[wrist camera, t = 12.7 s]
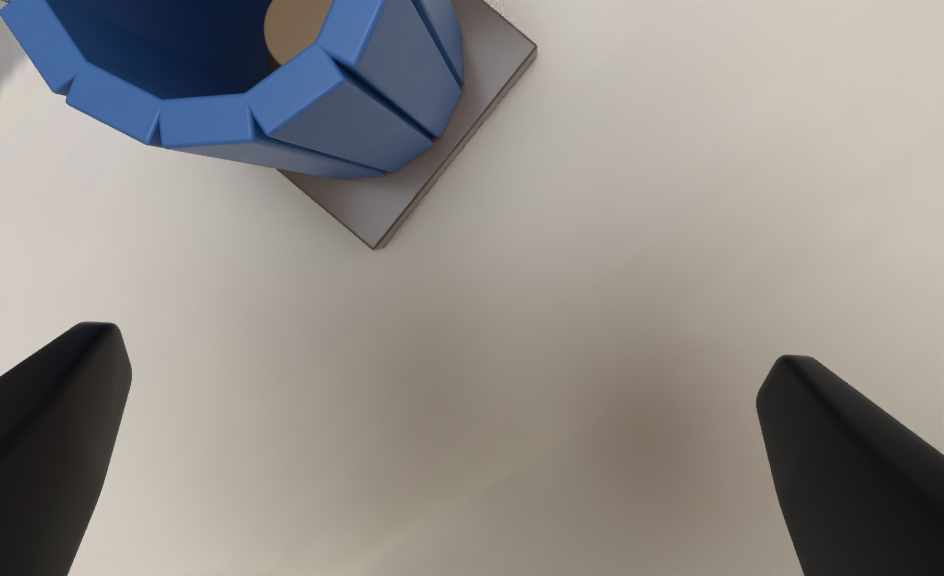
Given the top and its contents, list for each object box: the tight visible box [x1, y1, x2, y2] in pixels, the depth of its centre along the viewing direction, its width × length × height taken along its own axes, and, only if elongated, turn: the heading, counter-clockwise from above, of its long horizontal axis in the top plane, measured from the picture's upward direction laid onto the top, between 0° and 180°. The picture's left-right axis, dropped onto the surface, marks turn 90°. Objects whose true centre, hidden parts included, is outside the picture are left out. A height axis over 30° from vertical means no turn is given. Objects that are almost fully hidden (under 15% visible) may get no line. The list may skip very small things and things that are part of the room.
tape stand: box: [264, 0, 537, 250], centre depth 19 cm, size 8×8×6 cm
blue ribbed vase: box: [0, 0, 464, 179], centre depth 15 cm, size 7×7×10 cm
